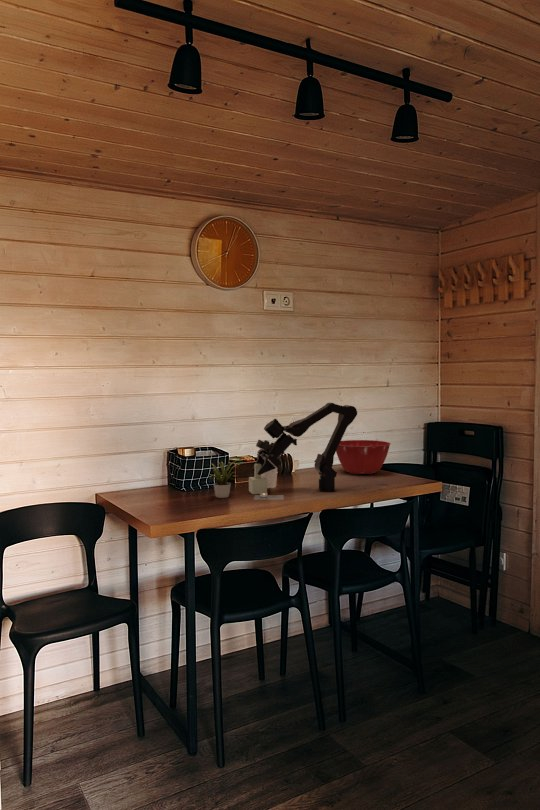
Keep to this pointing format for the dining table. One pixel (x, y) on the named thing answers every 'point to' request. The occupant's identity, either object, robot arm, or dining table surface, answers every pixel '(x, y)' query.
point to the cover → (257, 482)
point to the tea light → (263, 495)
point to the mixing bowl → (362, 455)
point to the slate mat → (269, 497)
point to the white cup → (271, 478)
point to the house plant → (222, 480)
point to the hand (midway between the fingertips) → (255, 472)
